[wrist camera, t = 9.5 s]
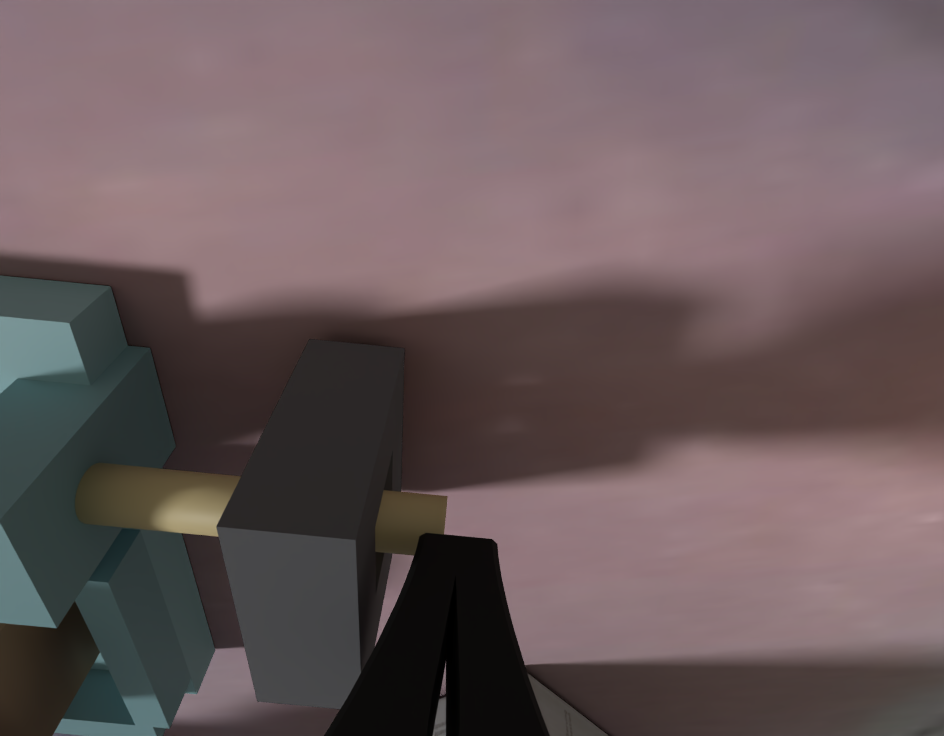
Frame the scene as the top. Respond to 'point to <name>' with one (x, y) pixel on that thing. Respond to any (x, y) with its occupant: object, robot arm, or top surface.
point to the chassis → (113, 506)
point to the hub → (316, 524)
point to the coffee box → (562, 721)
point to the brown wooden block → (42, 673)
